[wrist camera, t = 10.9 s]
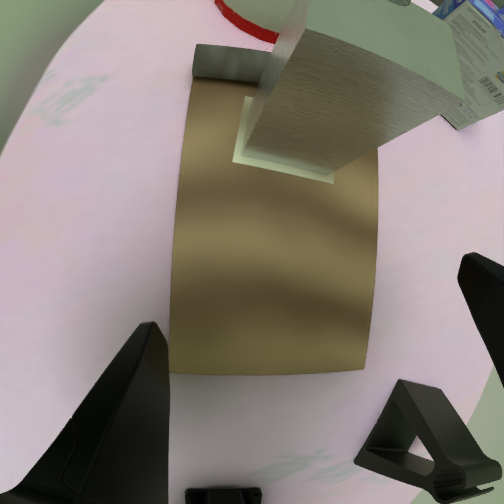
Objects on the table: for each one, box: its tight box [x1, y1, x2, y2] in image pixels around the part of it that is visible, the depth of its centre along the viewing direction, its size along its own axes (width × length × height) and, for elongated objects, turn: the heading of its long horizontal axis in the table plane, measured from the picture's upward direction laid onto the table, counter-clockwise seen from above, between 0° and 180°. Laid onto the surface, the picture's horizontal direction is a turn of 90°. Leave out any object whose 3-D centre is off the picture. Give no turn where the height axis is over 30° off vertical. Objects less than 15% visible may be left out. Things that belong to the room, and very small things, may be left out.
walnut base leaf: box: [169, 44, 378, 375], centre depth 20 cm, size 22×14×4 cm, turn 176°
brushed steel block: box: [241, 0, 465, 176], centre depth 14 cm, size 5×6×13 cm
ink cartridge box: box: [432, 0, 504, 130], centre depth 17 cm, size 10×6×14 cm, turn 61°
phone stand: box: [354, 380, 502, 504], centre depth 18 cm, size 9×6×12 cm, turn 157°
